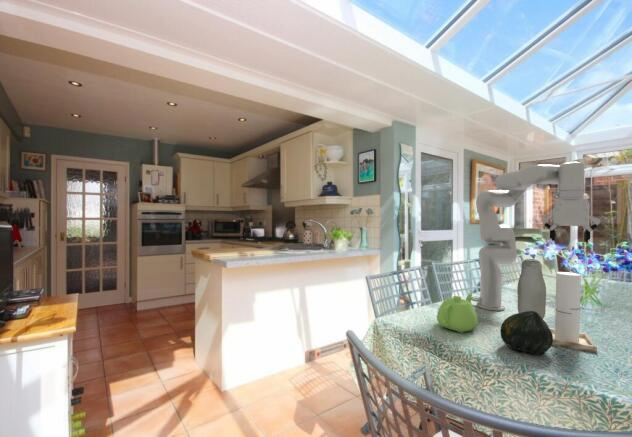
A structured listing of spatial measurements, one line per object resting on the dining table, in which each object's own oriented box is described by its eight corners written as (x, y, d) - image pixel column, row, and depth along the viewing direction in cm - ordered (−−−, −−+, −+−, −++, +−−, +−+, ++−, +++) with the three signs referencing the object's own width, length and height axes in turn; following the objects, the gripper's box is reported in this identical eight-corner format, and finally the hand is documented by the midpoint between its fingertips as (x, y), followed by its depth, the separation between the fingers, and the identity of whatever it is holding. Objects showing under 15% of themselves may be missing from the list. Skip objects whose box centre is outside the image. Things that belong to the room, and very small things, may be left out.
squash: (490, 323, 119) (505, 301, 109) (532, 326, 118) (551, 305, 108) (503, 360, 109) (520, 340, 99) (548, 364, 107) (571, 344, 97)
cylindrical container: (583, 344, 112) (585, 275, 112) (561, 342, 114) (562, 274, 113) (571, 336, 119) (573, 272, 119) (550, 335, 121) (552, 271, 120)
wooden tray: (546, 343, 114) (546, 338, 114) (542, 331, 126) (542, 326, 126) (597, 352, 107) (597, 347, 107) (587, 339, 119) (587, 333, 119)
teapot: (455, 317, 143) (455, 289, 142) (489, 327, 130) (489, 296, 130) (427, 327, 130) (427, 296, 129) (461, 339, 117) (462, 304, 117)
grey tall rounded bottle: (530, 317, 144) (531, 257, 143) (550, 325, 133) (552, 260, 133) (511, 318, 142) (513, 257, 141) (531, 326, 132) (532, 261, 131)
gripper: (543, 195, 117) (542, 240, 117) (604, 194, 108) (602, 243, 108) (540, 196, 123) (539, 239, 124) (598, 195, 114) (597, 241, 115)
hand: (569, 241), depth 116 cm, fingers open, 9 cm apart
